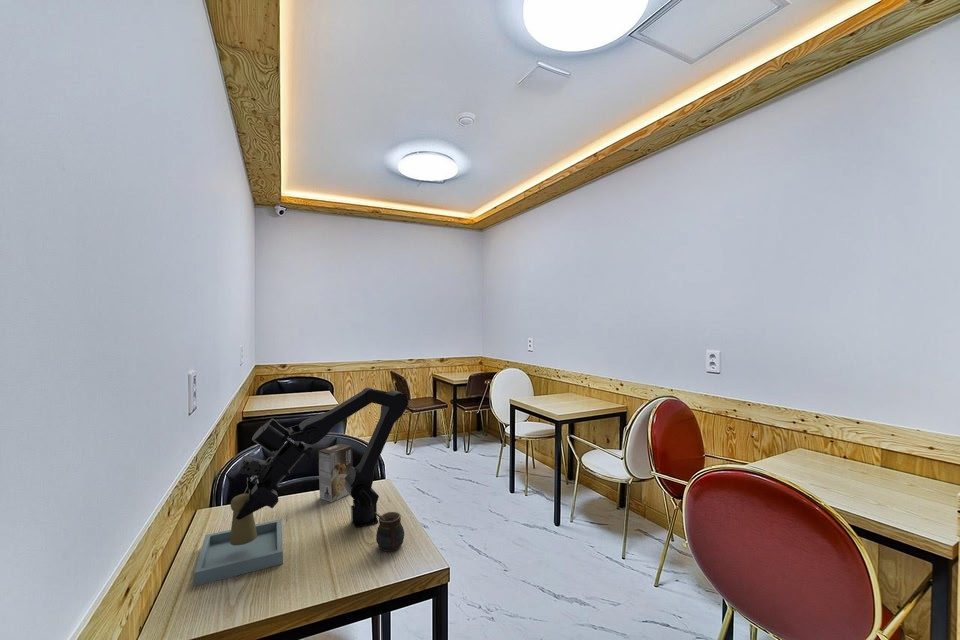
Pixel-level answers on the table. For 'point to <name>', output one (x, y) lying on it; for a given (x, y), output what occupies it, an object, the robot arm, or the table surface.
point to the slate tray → (239, 553)
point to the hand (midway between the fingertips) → (236, 514)
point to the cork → (241, 523)
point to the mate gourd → (389, 531)
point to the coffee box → (334, 471)
